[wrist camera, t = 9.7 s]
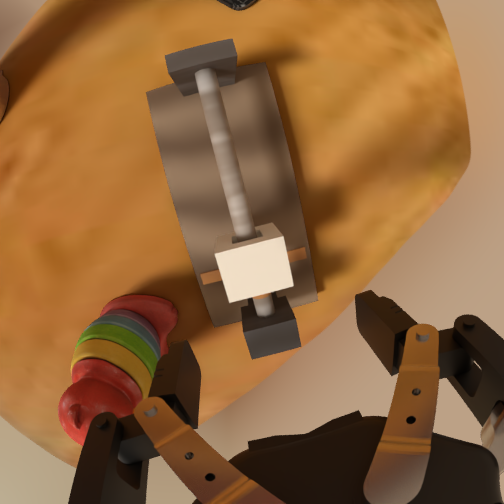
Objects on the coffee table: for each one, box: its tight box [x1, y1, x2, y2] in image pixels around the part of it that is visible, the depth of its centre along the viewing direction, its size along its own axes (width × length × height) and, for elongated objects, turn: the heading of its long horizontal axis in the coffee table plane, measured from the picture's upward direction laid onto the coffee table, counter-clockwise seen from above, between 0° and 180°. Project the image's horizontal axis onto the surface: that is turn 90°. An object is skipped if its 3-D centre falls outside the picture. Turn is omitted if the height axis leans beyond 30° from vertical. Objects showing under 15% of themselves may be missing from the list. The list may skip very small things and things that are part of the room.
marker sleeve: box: [215, 223, 294, 303], centre depth 23 cm, size 4×5×5 cm
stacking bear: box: [58, 295, 178, 446], centre depth 23 cm, size 11×10×18 cm
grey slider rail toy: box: [146, 39, 318, 359], centre depth 24 cm, size 26×12×9 cm, turn 14°
